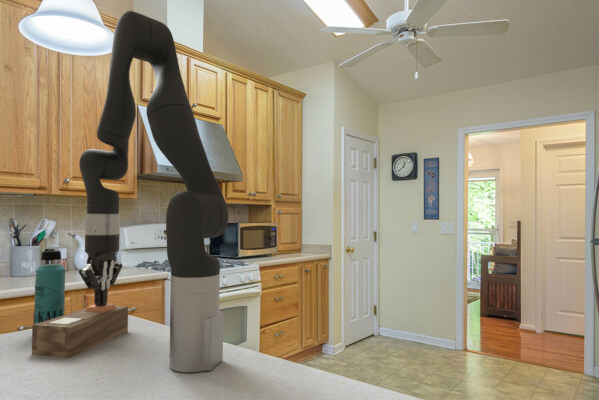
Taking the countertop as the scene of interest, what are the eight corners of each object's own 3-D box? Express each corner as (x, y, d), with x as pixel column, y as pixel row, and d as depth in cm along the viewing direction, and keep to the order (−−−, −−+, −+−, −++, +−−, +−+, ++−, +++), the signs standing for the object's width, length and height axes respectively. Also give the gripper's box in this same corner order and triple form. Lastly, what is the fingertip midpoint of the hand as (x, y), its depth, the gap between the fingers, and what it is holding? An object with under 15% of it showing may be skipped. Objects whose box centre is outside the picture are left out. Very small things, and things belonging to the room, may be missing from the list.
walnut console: (127, 331, 100) (128, 306, 101) (69, 357, 82) (70, 327, 82) (95, 329, 102) (96, 305, 102) (31, 354, 84) (32, 325, 84)
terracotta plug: (114, 324, 99) (115, 303, 99) (102, 329, 95) (103, 307, 95) (98, 323, 100) (99, 302, 100) (86, 328, 96) (86, 306, 96)
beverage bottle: (46, 329, 102) (48, 249, 102) (71, 330, 101) (73, 249, 101) (25, 337, 95) (28, 251, 96) (51, 338, 94) (53, 252, 95)
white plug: (82, 342, 88) (82, 318, 89) (66, 348, 84) (67, 324, 84) (64, 340, 89) (65, 317, 89) (48, 347, 85) (49, 322, 85)
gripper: (97, 234, 91) (95, 312, 90) (133, 231, 104) (131, 300, 103) (68, 233, 93) (66, 310, 92) (107, 231, 105) (105, 299, 105)
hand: (100, 305), depth 98 cm, fingers closed
